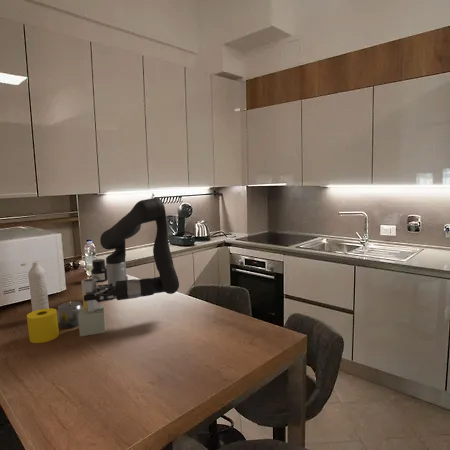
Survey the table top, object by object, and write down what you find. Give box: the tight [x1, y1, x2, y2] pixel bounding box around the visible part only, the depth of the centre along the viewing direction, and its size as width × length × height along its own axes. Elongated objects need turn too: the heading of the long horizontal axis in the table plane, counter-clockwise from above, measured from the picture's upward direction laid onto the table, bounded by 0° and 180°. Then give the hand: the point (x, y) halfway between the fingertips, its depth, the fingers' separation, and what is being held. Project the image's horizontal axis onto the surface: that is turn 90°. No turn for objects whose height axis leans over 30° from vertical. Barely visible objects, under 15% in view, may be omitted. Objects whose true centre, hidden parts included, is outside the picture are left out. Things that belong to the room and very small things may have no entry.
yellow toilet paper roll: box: [26, 307, 60, 344], centre depth 134 cm, size 10×10×9 cm
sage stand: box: [78, 304, 107, 337], centre depth 139 cm, size 9×9×10 cm
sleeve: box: [81, 277, 99, 313], centre depth 138 cm, size 5×5×12 cm
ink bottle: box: [90, 258, 108, 283], centre depth 208 cm, size 10×9×12 cm
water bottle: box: [20, 261, 50, 312], centre depth 152 cm, size 9×6×25 cm
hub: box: [57, 300, 83, 329], centre depth 146 cm, size 9×9×10 cm
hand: (84, 294), depth 137 cm, fingers open, 8 cm apart
